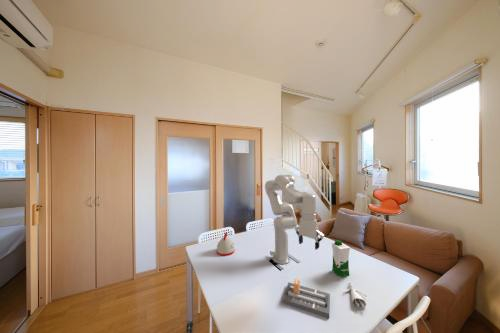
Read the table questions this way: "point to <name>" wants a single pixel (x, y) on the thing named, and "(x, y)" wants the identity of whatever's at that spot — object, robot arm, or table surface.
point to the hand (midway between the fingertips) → (308, 245)
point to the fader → (296, 287)
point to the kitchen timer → (225, 246)
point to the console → (308, 300)
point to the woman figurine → (356, 296)
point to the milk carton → (340, 258)
